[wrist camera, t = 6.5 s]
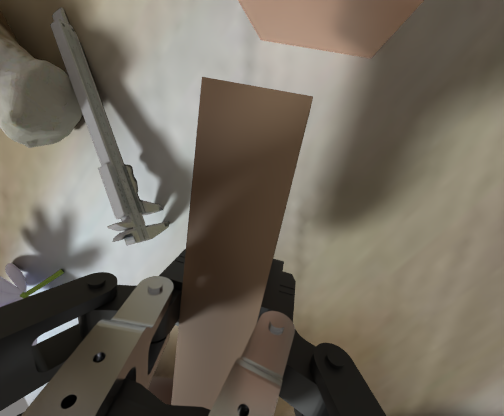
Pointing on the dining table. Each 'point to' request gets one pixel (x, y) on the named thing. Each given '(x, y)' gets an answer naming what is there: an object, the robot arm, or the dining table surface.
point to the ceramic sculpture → (33, 95)
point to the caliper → (105, 142)
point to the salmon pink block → (329, 23)
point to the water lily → (19, 286)
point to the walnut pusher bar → (232, 226)
